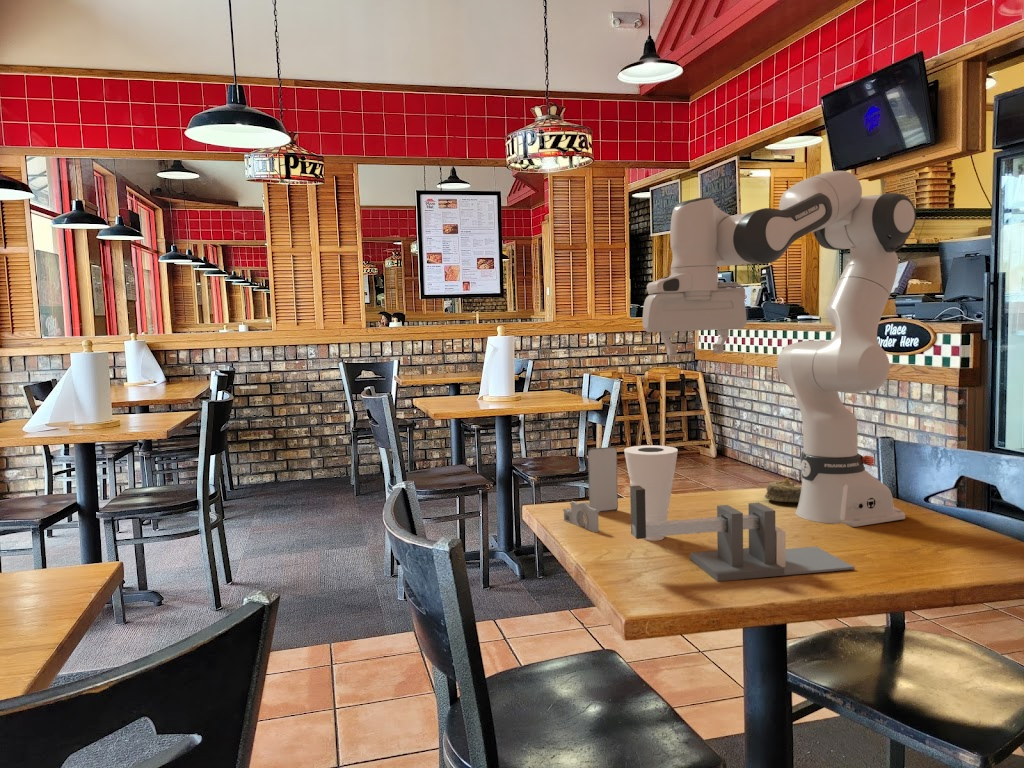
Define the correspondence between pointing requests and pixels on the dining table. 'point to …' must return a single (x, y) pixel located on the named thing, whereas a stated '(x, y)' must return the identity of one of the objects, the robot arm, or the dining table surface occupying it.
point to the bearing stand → (732, 555)
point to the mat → (812, 561)
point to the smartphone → (603, 479)
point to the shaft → (677, 521)
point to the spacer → (780, 547)
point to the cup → (653, 478)
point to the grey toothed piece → (577, 515)
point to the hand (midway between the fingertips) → (695, 354)
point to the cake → (783, 491)
